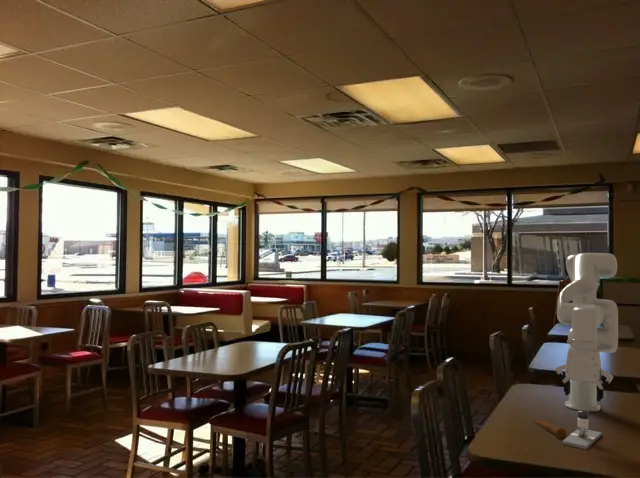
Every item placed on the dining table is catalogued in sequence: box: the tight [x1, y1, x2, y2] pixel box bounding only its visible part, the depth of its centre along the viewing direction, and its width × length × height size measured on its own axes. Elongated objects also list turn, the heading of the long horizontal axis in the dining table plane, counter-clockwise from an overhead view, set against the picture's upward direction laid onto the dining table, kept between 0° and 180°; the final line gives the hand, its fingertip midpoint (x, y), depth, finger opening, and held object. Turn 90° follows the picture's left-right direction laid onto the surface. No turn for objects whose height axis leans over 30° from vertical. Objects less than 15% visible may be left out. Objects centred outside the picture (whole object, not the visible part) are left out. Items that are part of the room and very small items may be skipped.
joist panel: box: [562, 428, 602, 450], centre depth 185 cm, size 18×7×1 cm, turn 140°
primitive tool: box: [531, 419, 568, 440], centre depth 195 cm, size 19×6×4 cm, turn 3°
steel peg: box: [576, 410, 590, 438], centre depth 185 cm, size 3×3×8 cm
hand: (583, 397), depth 186 cm, fingers open, 9 cm apart
